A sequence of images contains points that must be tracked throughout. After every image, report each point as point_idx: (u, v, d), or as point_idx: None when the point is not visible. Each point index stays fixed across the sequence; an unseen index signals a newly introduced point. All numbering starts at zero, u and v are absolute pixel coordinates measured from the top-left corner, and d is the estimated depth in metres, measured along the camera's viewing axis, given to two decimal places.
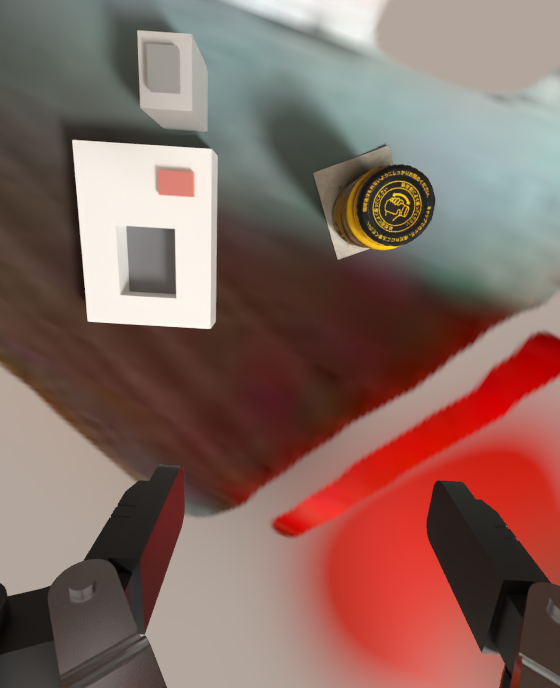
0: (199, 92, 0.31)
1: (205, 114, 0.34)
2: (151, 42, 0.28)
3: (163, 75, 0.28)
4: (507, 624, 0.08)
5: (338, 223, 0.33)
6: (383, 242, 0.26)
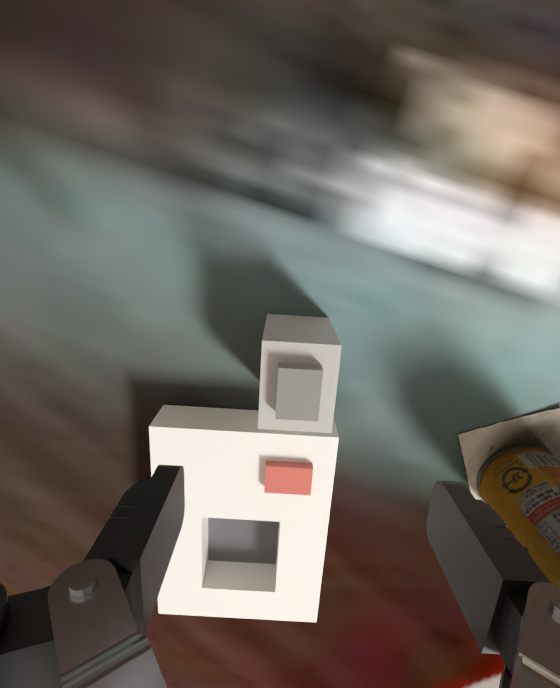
0: None
1: None
2: (281, 354, 0.19)
3: (299, 404, 0.19)
4: (507, 624, 0.08)
5: None
6: None
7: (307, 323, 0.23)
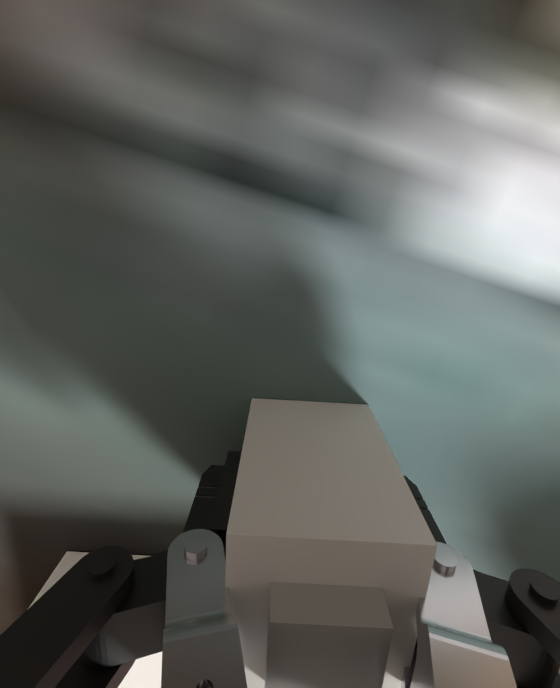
0: None
1: None
2: (277, 565, 0.07)
3: None
4: None
5: None
6: None
7: (332, 431, 0.11)
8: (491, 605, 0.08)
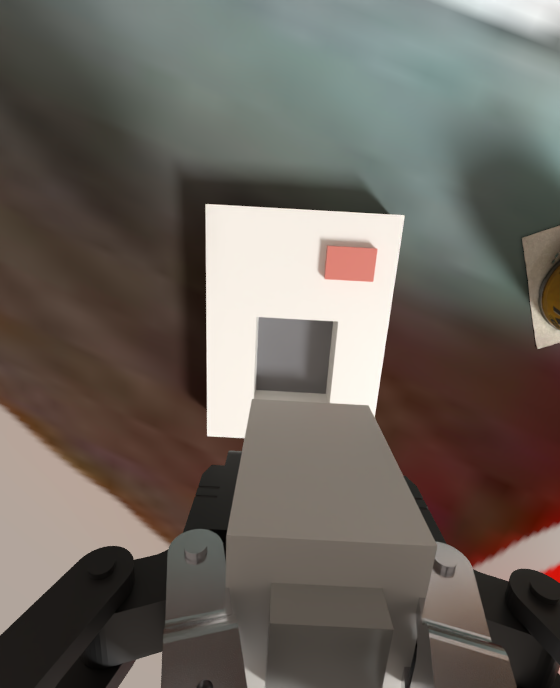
0: None
1: None
2: (278, 566, 0.07)
3: None
4: None
5: None
6: None
7: (332, 432, 0.11)
8: (491, 605, 0.08)
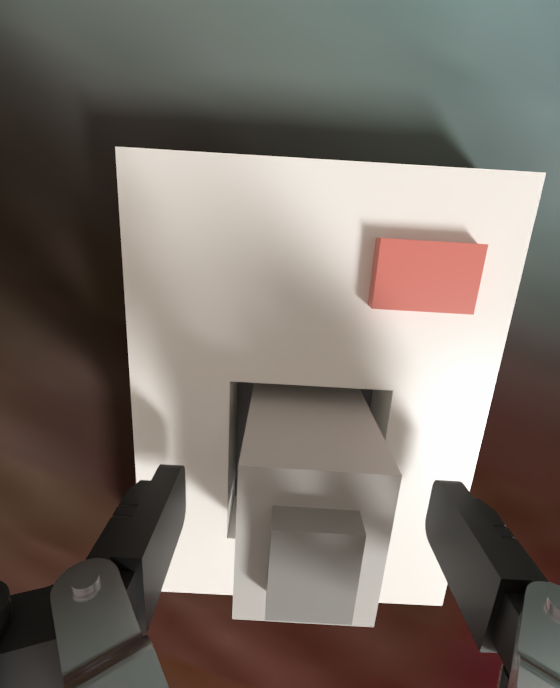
0: None
1: None
2: (278, 491, 0.09)
3: (314, 595, 0.09)
4: (505, 623, 0.08)
5: None
6: None
7: (324, 400, 0.13)
8: None
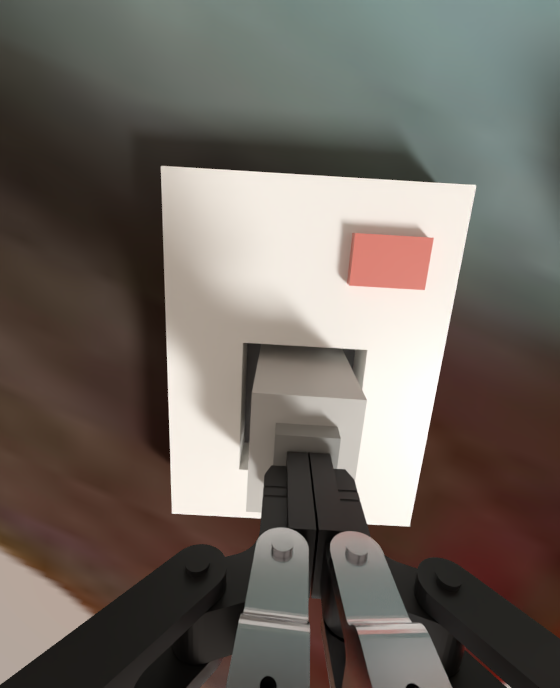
0: None
1: None
2: (279, 412, 0.13)
3: None
4: (323, 569, 0.09)
5: None
6: None
7: (315, 358, 0.17)
8: (399, 593, 0.08)
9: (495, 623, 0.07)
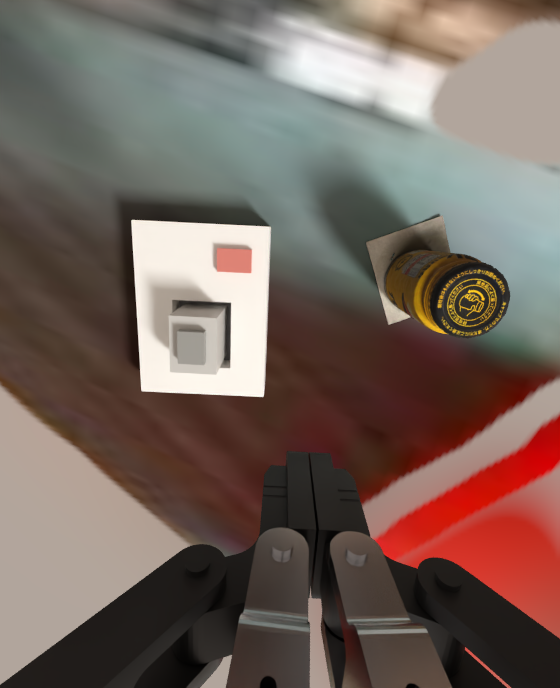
0: (221, 343, 0.34)
1: (225, 345, 0.37)
2: (180, 324, 0.31)
3: (191, 354, 0.31)
4: (323, 569, 0.09)
5: (395, 297, 0.33)
6: (456, 336, 0.26)
7: (208, 308, 0.35)
8: (399, 593, 0.08)
9: (495, 623, 0.07)
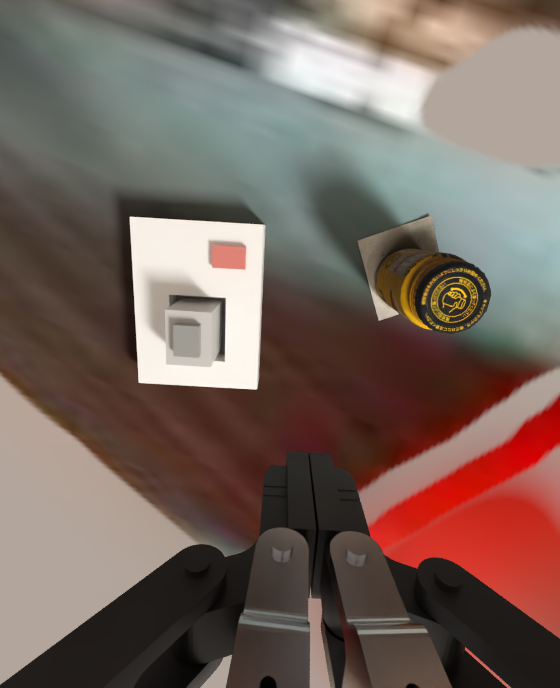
0: (216, 337, 0.35)
1: (220, 339, 0.38)
2: (176, 318, 0.32)
3: (187, 347, 0.32)
4: (323, 569, 0.09)
5: (384, 294, 0.34)
6: (439, 331, 0.27)
7: (203, 302, 0.36)
8: (399, 593, 0.08)
9: (495, 623, 0.07)
